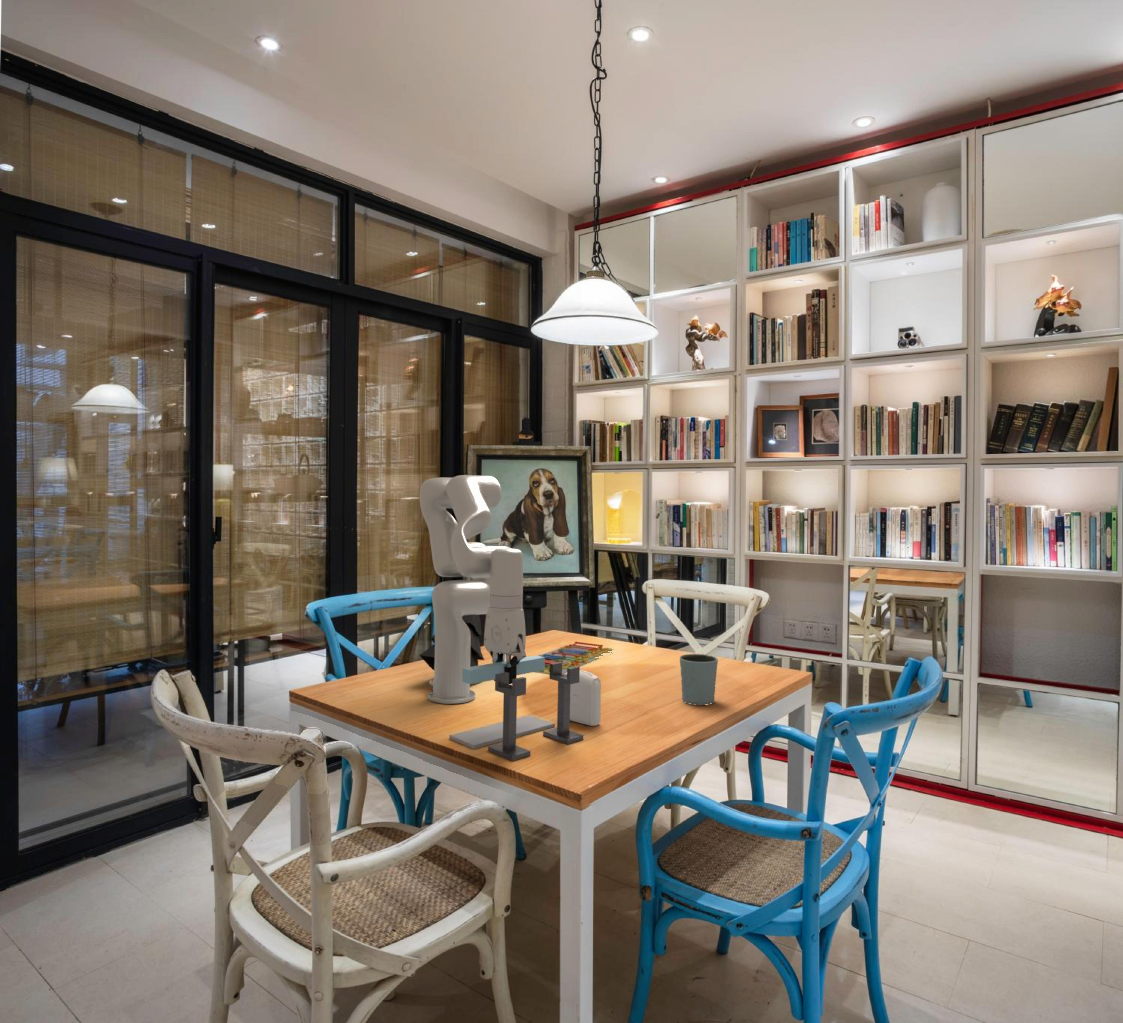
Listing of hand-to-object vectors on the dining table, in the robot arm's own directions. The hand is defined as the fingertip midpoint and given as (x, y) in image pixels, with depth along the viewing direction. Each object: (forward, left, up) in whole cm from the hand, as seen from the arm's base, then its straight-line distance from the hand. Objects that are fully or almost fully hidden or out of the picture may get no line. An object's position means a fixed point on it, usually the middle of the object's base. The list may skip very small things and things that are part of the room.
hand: (505, 681), depth 171 cm
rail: (0, 0, +1) cm, 1 cm away
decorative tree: (-47, +22, -12) cm, 53 cm away
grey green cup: (+13, +57, -12) cm, 60 cm away
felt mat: (0, 0, -12) cm, 12 cm away
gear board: (-48, +67, -13) cm, 83 cm away
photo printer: (+5, +20, -12) cm, 24 cm away
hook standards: (+11, 0, -12) cm, 16 cm away
